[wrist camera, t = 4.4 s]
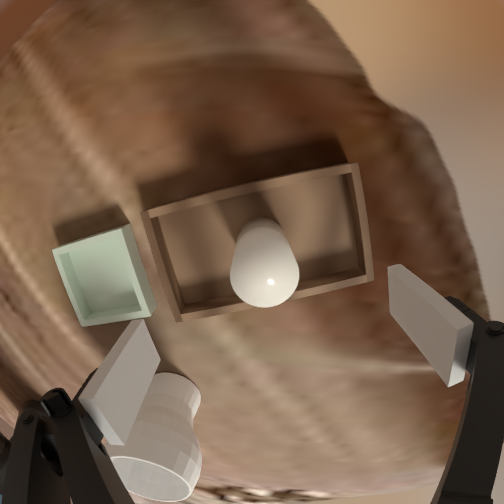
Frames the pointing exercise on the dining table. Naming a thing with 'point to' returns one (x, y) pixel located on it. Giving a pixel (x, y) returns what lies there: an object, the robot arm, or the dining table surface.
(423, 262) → the dining table surface
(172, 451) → the cup
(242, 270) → the white rounded cylinder
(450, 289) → the dining table surface
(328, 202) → the tray
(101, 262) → the dish
